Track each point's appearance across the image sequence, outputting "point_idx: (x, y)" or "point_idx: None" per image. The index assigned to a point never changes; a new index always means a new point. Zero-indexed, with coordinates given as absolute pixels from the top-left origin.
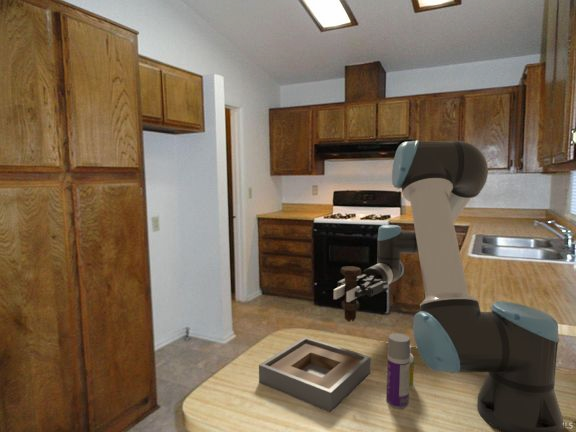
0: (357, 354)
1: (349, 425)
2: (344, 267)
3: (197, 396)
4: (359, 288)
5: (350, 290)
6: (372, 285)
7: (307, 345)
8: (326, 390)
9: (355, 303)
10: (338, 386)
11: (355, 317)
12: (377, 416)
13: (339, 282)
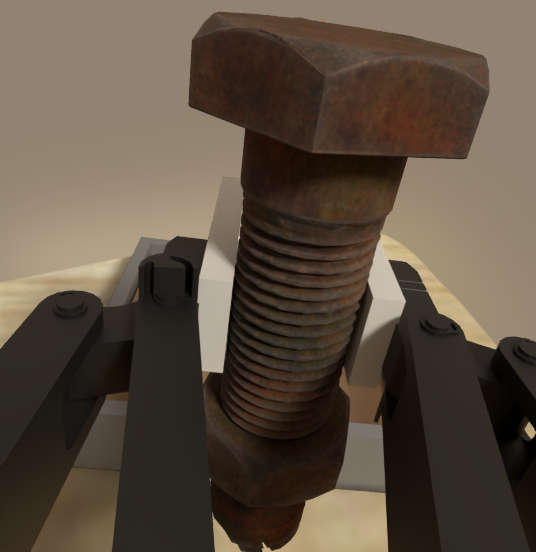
0: (123, 402)
1: (89, 268)
2: (442, 46)
3: (401, 250)
4: (198, 288)
5: (234, 199)
6: (32, 403)
7: (371, 414)
8: (154, 239)
9: (211, 376)
10: (132, 256)
11: (212, 502)
12: (24, 300)
13: (515, 341)
